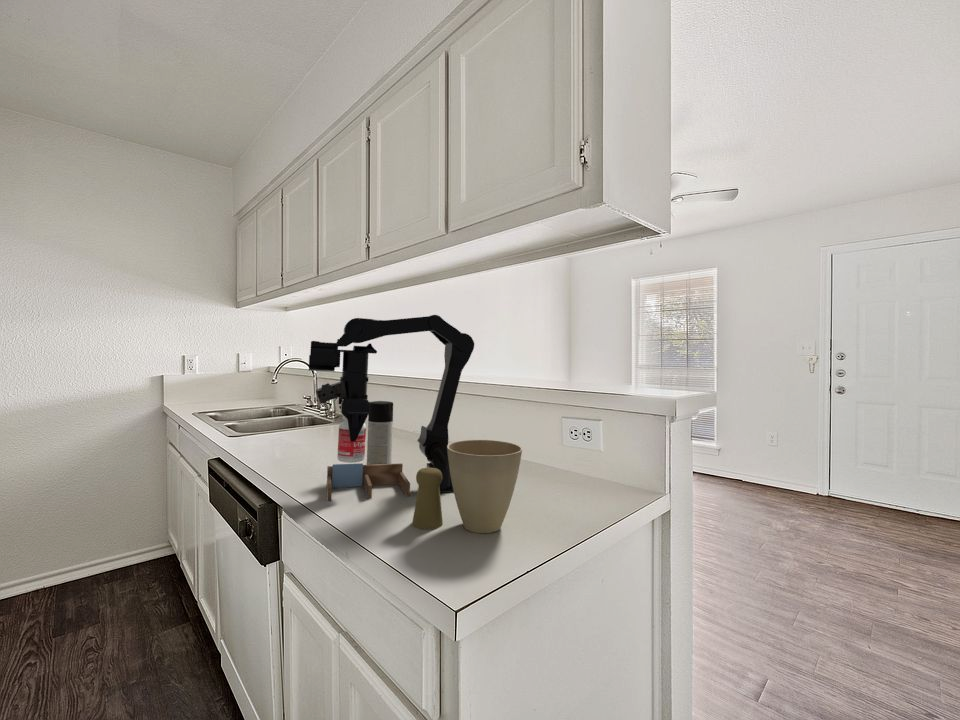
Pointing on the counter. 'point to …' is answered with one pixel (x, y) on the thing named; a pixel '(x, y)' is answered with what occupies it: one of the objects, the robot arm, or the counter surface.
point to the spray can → (380, 433)
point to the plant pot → (483, 481)
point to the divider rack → (365, 477)
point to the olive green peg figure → (428, 499)
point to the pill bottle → (350, 444)
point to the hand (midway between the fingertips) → (352, 438)
